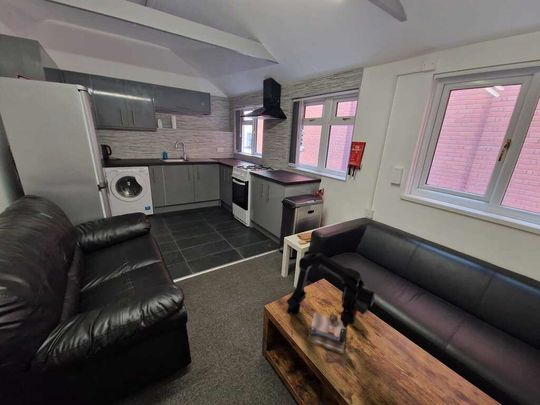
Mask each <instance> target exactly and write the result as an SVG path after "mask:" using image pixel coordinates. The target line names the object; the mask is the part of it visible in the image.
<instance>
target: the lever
mask: <svg viewBox="0 0 540 405" xmlns="http://www.w3.org/2000/svg"><path fill="white" fill-rule="evenodd" d="M309 334H310V335H316V336H319V337H321V338H324V339H327V340H329V341H332V342H335V343H338V344H340V345H343V344H344V345H345V342H346V339H347V338H346V337H347V334H348V331H347V330H346V328H345V329H341V331H340V336H339V337H336V336H333V335H331V334H328V333H325V332H322V331H319V330H317V329H315V328H314V327H311V326H309V329H308V335H309Z"/></svg>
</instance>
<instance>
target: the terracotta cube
mask: <svg viewBox="0 0 540 405" xmlns="http://www.w3.org/2000/svg"><path fill="white" fill-rule="evenodd" d="M334 332H335V330H332V329H329V332H328V334H331V335H333V336H334Z"/></svg>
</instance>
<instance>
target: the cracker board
mask: <svg viewBox="0 0 540 405" xmlns="http://www.w3.org/2000/svg"><path fill="white" fill-rule="evenodd" d="M338 317H339V316H338V315H337V314H334V313H330V314H329V316H327V315H323V314H320V313H317V312H314V313H313V317H312V320H311V325H310V327H314V328H315V329H317V330H319V331H322V332H325V333H328V332H329V329H332V330H335V332H334V336H336V337H339V336H340V331H341V329H345V330H346V328H345V327H344V326H343V323H342V321H341V320H338ZM307 341H308V342H311V343H313V344H316V345H318V346H321V347H323V348H327V349H328V350H331V351H334V352H337V353H339V354H342V355H344V351H345V343H344V344H343V345H340V344H338V343H335V342H332V341H329V340H327V339H324V338H321V337H319V336H316V335H310V334H309V333H308V337H307Z"/></svg>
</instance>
